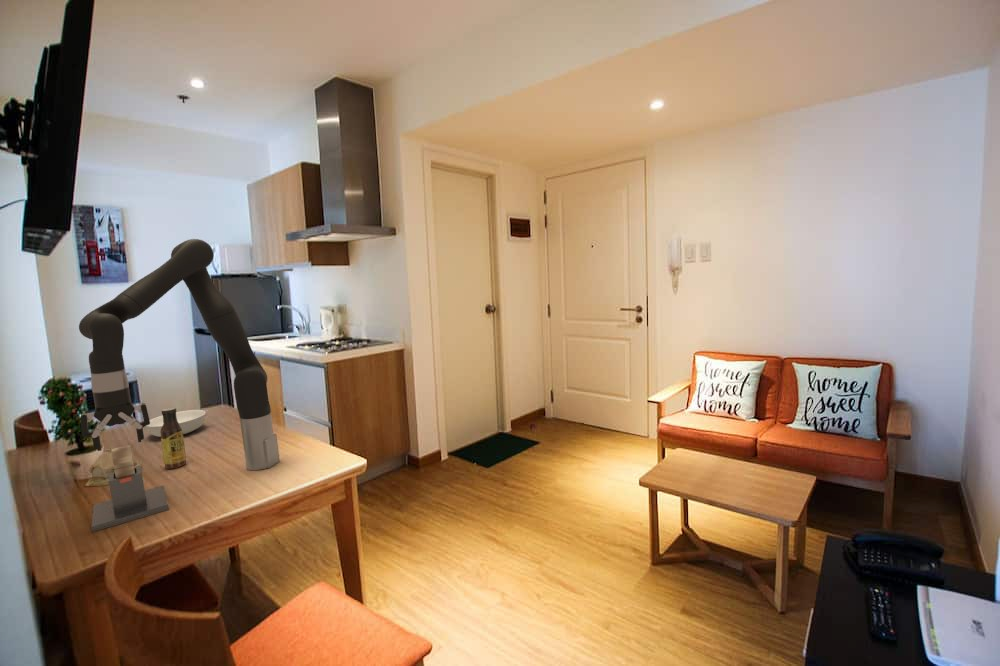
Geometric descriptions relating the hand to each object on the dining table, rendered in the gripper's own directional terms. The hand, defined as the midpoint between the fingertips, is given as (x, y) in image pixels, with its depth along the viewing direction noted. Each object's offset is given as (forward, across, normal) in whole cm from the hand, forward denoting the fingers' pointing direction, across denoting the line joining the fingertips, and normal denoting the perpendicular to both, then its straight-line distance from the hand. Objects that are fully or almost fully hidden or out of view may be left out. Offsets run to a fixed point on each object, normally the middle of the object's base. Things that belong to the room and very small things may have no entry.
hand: (120, 445), depth 128 cm
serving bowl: (+19, -17, -70) cm, 75 cm away
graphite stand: (+18, 0, 0) cm, 18 cm away
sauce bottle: (+19, -13, -28) cm, 36 cm away
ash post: (+17, 0, 0) cm, 17 cm away
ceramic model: (+19, +4, -32) cm, 38 cm away
